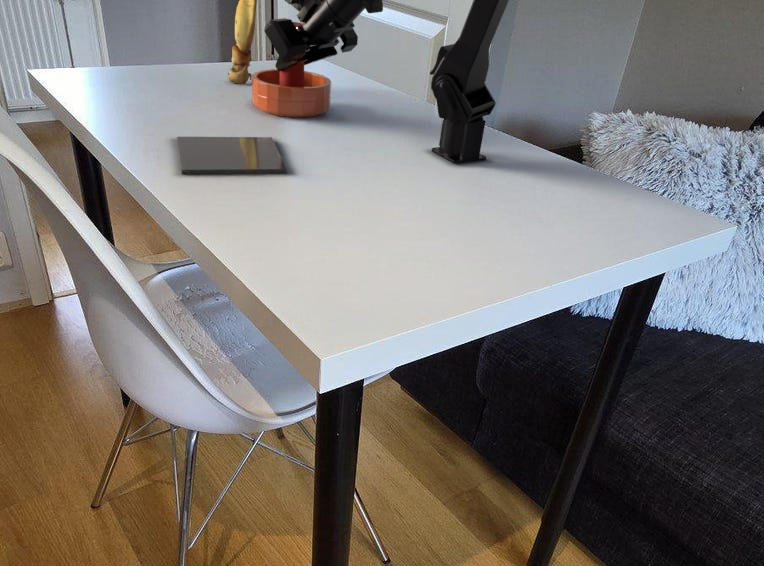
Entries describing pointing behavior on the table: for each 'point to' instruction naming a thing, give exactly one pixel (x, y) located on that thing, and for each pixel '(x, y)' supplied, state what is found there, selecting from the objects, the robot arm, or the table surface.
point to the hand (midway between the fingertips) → (285, 67)
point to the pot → (291, 94)
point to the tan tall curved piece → (243, 41)
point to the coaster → (229, 155)
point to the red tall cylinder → (293, 73)
